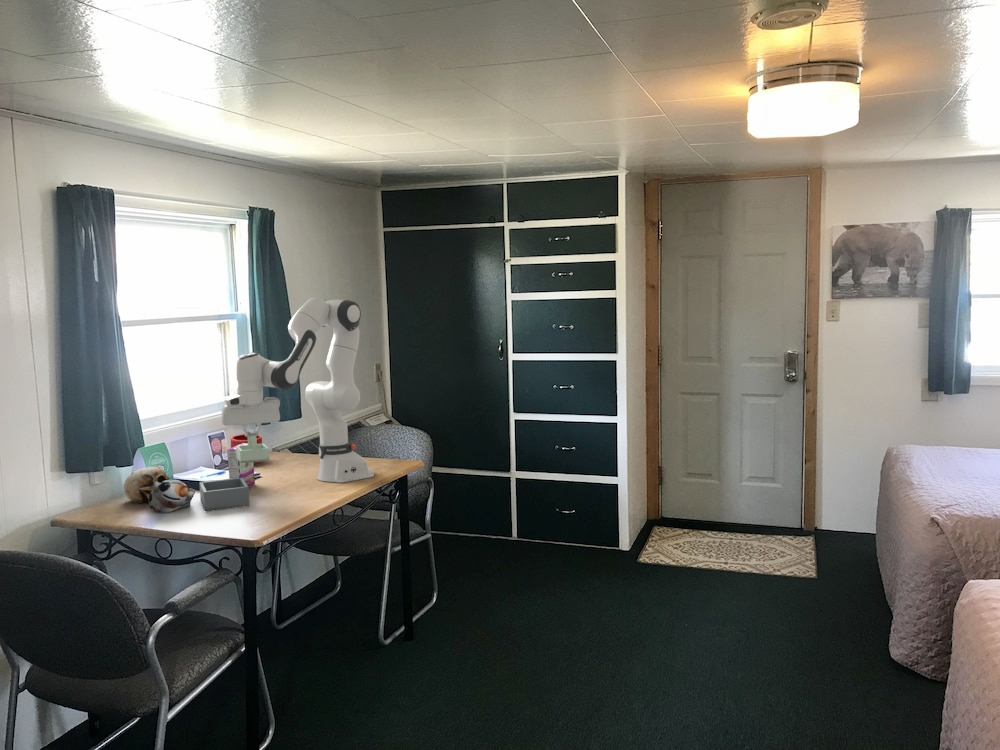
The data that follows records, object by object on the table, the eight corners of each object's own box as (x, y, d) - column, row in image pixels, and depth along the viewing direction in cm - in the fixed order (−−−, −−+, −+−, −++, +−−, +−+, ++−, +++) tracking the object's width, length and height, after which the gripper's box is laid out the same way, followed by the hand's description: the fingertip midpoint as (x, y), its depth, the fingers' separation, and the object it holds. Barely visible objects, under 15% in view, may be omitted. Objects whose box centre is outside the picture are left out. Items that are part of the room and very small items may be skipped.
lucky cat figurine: (195, 501, 300) (201, 472, 293) (186, 523, 289) (193, 493, 283) (152, 493, 296) (157, 462, 290) (142, 514, 286) (147, 484, 279)
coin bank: (186, 499, 303) (179, 464, 301) (138, 513, 292) (130, 477, 290) (170, 492, 315) (163, 458, 312) (123, 506, 303) (116, 471, 301)
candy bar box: (243, 483, 325) (241, 442, 323) (255, 484, 324) (253, 443, 322) (228, 491, 314) (226, 449, 312) (241, 491, 313) (238, 449, 311)
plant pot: (225, 466, 354) (224, 439, 353) (241, 459, 367) (240, 433, 365) (253, 467, 351) (252, 440, 350) (268, 460, 364) (267, 434, 363)
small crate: (264, 455, 306) (263, 428, 305) (269, 460, 297) (268, 432, 296) (236, 457, 302) (235, 430, 301) (240, 463, 293) (239, 434, 292)
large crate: (243, 495, 307) (242, 477, 306) (249, 506, 294) (248, 486, 293) (200, 501, 301) (199, 482, 300) (205, 511, 287) (203, 492, 286)
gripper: (278, 395, 304) (279, 432, 306) (220, 398, 295) (221, 436, 297) (281, 397, 299) (282, 435, 300) (222, 401, 290) (223, 439, 291)
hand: (251, 435), depth 298 cm, fingers closed on small crate
